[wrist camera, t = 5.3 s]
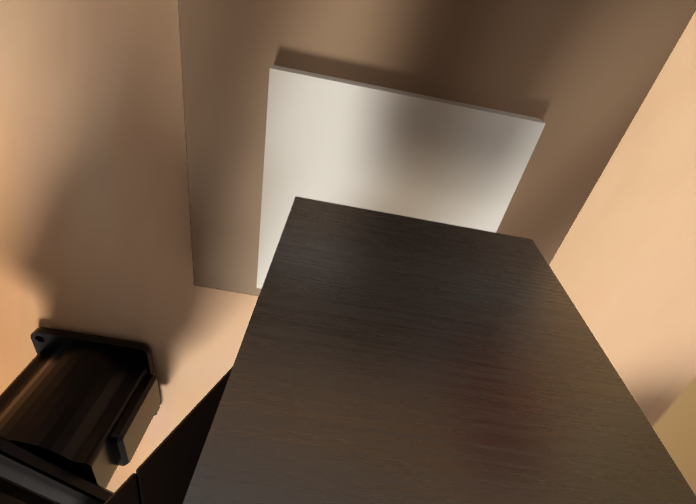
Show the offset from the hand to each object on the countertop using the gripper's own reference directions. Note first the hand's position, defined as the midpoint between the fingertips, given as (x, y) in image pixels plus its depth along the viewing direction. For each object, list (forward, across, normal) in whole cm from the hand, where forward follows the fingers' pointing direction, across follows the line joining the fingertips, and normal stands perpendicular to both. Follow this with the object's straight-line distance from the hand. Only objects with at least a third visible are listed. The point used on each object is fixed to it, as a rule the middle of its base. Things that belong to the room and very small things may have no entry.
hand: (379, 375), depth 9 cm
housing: (+1, 0, 0) cm, 1 cm away
